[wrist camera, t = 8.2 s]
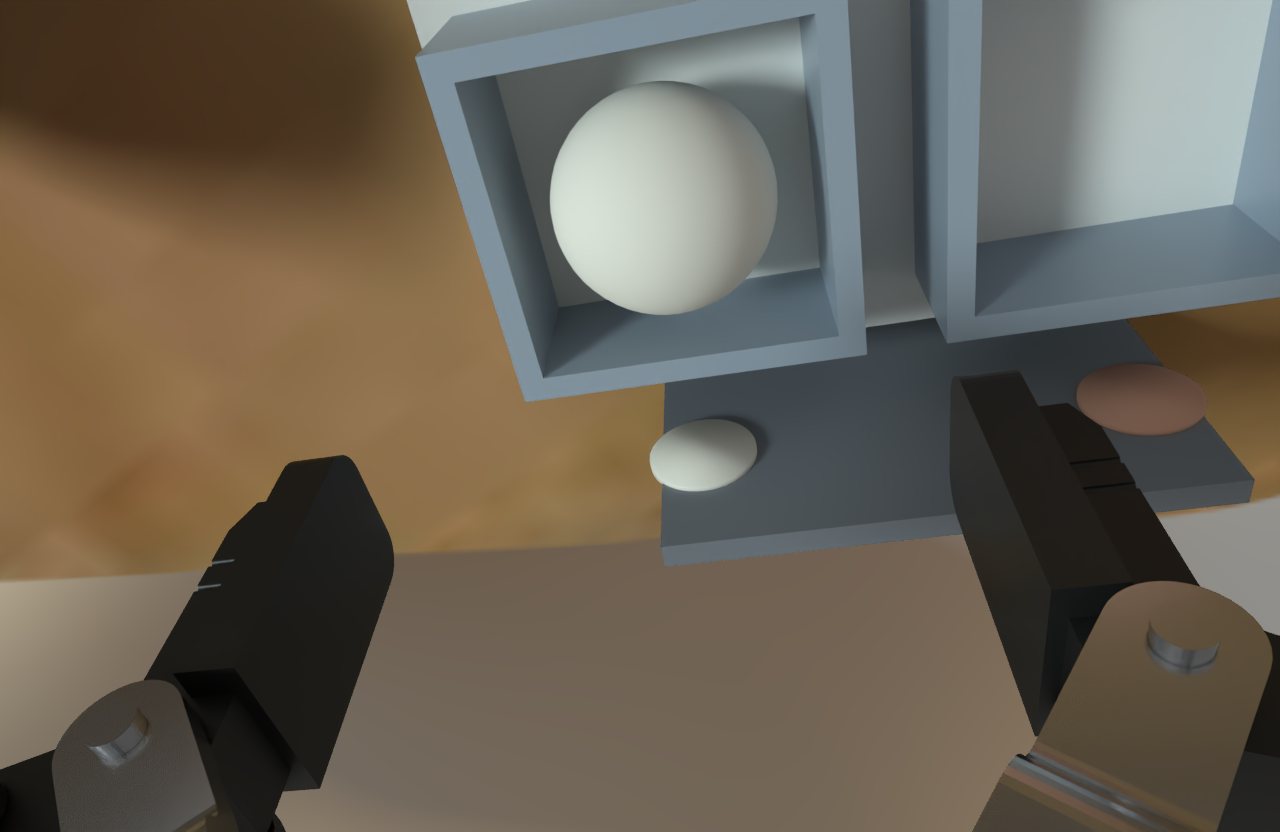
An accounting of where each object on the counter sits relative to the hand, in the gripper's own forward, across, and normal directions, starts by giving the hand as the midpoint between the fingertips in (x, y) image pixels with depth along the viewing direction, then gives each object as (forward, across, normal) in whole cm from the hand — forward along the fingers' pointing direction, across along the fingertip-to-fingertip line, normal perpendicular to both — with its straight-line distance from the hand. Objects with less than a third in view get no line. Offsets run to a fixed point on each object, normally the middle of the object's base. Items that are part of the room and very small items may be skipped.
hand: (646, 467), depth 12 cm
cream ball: (+10, 0, 0) cm, 10 cm away
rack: (+13, -5, 0) cm, 14 cm away
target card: (+13, -5, +7) cm, 15 cm away
